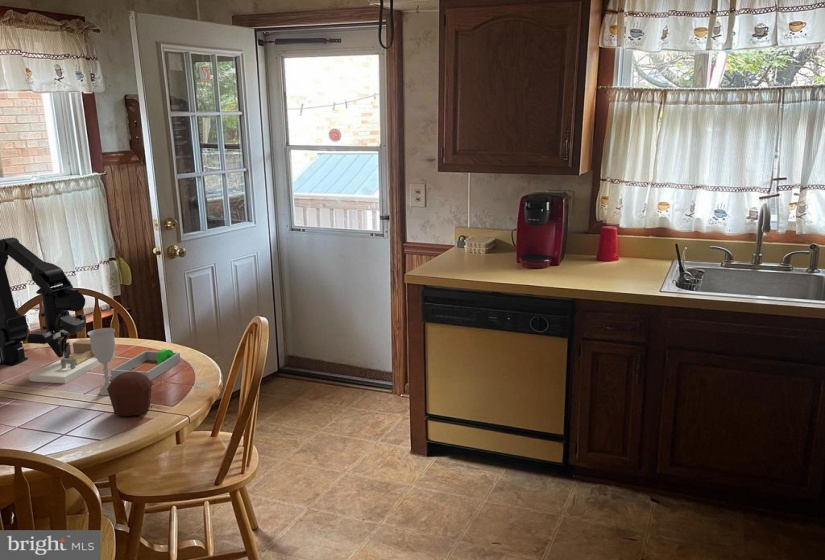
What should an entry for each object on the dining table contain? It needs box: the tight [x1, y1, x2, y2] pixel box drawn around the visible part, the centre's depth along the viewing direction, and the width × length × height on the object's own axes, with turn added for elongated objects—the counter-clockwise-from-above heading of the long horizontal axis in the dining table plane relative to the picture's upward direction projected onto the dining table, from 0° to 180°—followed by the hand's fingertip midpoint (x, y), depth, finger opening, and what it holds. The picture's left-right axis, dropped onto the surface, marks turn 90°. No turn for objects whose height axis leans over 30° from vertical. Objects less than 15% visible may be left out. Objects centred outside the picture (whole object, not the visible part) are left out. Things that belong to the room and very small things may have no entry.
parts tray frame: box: [110, 350, 181, 381], centre depth 210 cm, size 12×18×3 cm
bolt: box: [63, 341, 94, 364], centre depth 214 cm, size 6×10×6 cm, turn 169°
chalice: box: [87, 327, 116, 396], centre depth 191 cm, size 7×7×18 cm
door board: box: [28, 338, 116, 384], centre depth 212 cm, size 12×24×6 cm, turn 169°
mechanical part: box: [156, 348, 175, 366], centre depth 215 cm, size 12×6×8 cm, turn 159°
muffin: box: [107, 370, 153, 417], centre depth 180 cm, size 12×11×10 cm
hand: (60, 356), depth 210 cm, fingers closed
